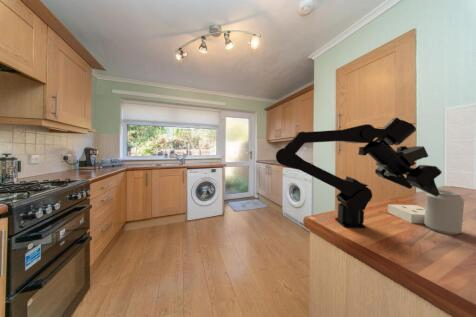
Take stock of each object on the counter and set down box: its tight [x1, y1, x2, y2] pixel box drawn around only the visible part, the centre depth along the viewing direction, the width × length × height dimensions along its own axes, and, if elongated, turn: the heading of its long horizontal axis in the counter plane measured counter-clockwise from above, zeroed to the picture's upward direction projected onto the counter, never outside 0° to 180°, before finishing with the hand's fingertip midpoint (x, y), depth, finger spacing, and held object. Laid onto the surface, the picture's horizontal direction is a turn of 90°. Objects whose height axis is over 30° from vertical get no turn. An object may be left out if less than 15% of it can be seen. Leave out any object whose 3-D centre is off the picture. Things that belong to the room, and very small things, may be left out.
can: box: [423, 189, 465, 235], centre depth 53 cm, size 8×8×12 cm
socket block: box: [387, 204, 425, 224], centre depth 63 cm, size 10×10×3 cm
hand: (423, 191), depth 54 cm, fingers open, 9 cm apart
